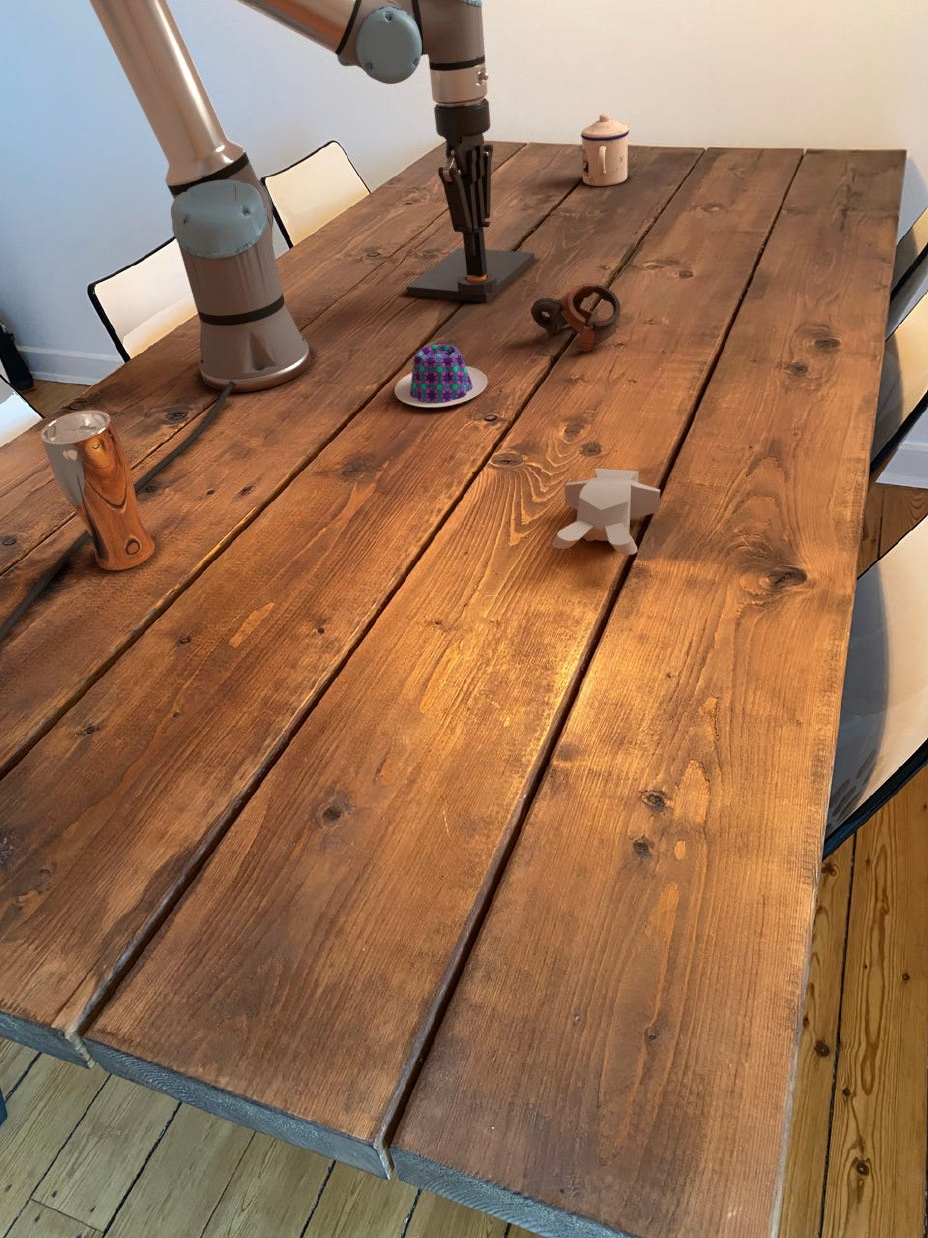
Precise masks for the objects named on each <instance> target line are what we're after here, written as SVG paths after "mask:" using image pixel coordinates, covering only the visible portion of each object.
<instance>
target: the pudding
mask: <svg viewBox="0 0 928 1238" xmlns="http://www.w3.org/2000/svg"><path fill="white" fill-rule="evenodd" d="M411 371H412V372H410V373H408V374H406V375H405V376H404V377H402V378H401V379H400V380H398V382H397V383H396V385H395V387H394V394H395V396H396V399H398V400H399V401H400V402H403V403H405V404H406V405H411V406H414V407H420V408H442V407H448V406H449V407H450V406H453V405H457V404H462V403H464V402H467V401H469V400H471V399H473V398H475V397H477V396H478V395H480V394H481V393H483V391H484V390H485V389H486V387H487V385H488V378H487V375H486V374H485V373H484V372H483V371H481V370H479V369H478V368H475V367H471V366H468V365H466V364H465V360H464V358H463V355H462V353H461V352H460V350H459V348H458V347H456V346H455V345H452V344H447V343H437V344H429V345H426V346H425V347H424V348H420V349H419V350H417V351H416V352H415V355H414V357H413V362H412V369H411Z"/></svg>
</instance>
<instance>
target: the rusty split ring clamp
mask: <svg viewBox="0 0 928 1238" xmlns="http://www.w3.org/2000/svg"><path fill="white" fill-rule="evenodd" d="M594 293H595V294H597V295H599V296H600V298H601V300H603V301H606V302H608V303H610V304H611V306H612V309H613V312H612V315H611V316H610V317H608V318H607V319H604V320H597V321H593V322H592V328H591V327H590V326H589V325H590V322H591V318H592V316H593V314H594V312H593V311H592V310H588V309H585V308H583V307H581V306H582V303H583V302H584V300H585V298H586V299H587V298H589V297H591V296H592V295H594ZM544 313H547V314H548V316H546V315H545V314H544ZM530 314H531V317H532V320H533V321H534V322H535V323H536V324H537V325H538V326H539V327H540V328H542V329H544V330H546V331H547V333H548V334H549V336H550V337H554V336H555V334H558V332H559V331H560V330H561V329H562V328H563V327H565V326H567V325H569V326H570V327H571V328H572V330H574V332H576V333H578V334H580V338H579V341H578V342H577V344H576V348H577V350H578V351H581V352H584V353H588V352H589V351H590V350H592V349H593V346H597V345H599V344H601V343H603V342H605V341H606V340H607V339H610V338H611V337H612V336H613V335H614V334H616V333H617V328H619V327H620V324H621V303H620V300H619V299H618V296H616V294H615V293H614V292H613V291H612V290H610V289H609V288H607V287H606V286H604V285H601V284H598V283H597V284H595V283H582V284H578V285H576V286H574V287H573V288H571V290H570V291H568V292H567V293H565V294H564V295H563V296H562V297H560V298H558V299H556V298H552V297H542V298H539V299H537V300H536V301H534V303H533V304H532V306H531V308H530ZM588 326H589V327H588Z"/></svg>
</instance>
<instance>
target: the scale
mask: <svg viewBox="0 0 928 1238" xmlns="http://www.w3.org/2000/svg"><path fill="white" fill-rule="evenodd" d="M485 253H486V264H487V274H486V278H487V279H486V280H483V281H479V282H468V281H467V270H466V260H465V250H464V247H457V248H456V249H455V250H453V251H452V252H451V253H449V254H448V255H447V256H446V257H444V258H443V259H441V260H440V261H438V262H437V263H436V264H434V265H433V266H432V267H430V268H429V269H428V270H427V271H425V272H424V273H422V274H421V275H420V276H418V277H417V278H416V279H415V280H413V281H412V282H411V283H409V284H408V285H407V286H406V294H407V296H412V297H413V296H414V297H423V298H435V299H445V300H457V301H465V302H477V303H485V304H486V303H488V302H490V301H491V300H492V299H493V298H495V297H496V296H497V295H498V294H499V293H500V292H501V291H502V290H504V288H506V287H507V286H509V284H510V283H512V282H513V281H514V280H515V279H516V278H517V277H518V276H519V275H520V274H521V273H523V272H524V271H525V270H526V269H527V268H529V267H530V266H531V265H532V264H533V263H534V262H535V260H536V257H535V252H529V251H515V250H501V249H486V248H485Z"/></svg>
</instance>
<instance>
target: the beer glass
mask: <svg viewBox="0 0 928 1238" xmlns="http://www.w3.org/2000/svg"><path fill="white" fill-rule="evenodd" d="M39 435H40V440H41V441H42V444H43V446H44V449H45V453H46V456H47V459H48V462H49V466H50V468H51V470H52V473H53V476H54V477H55V479H56V482H57V484H58V486H59V488H60V490H61V491H62V493H63V495H64V496H65V498H66V500H67V502H68V503H69V504H70V505H71V507H72V509H73V510H74V512H75V513H76V515H77V516H78V517H79V519H80V521H81V522H82V524H83V525H84V527H85V528H86V530H88V532H89V534H90V539H91V542H92V547H93V551H94V552H93V553H94V557H95V562H96V563H97V565H98V566H99V567H100V568H101V569H104V570H107V571H113V572H114V571H124V570H128V569H132V568H135V567H137V566H139V565H141V564H143V563H144V562H146V561H147V560H148V559H149V558H150V557H151V556H152V555H153V553H154V552H155V549H156V545H155V542H154V540H153V538H152V537H151V536H150V534H149V532H148V531H147V529H146V527H145V526H144V525H145V524H143V523H144V522H142V519H141V515H140V513H139V507H138V503H137V495H136V493H135V489H134V484H135V483H134V478H133V473H132V469H131V464H130V461H129V458H128V456H127V453H126V451H125V448H124V445H123V444H122V440H121V439H120V436H119V434H118V432H117V430H116V428H115V426H114V424H113V422H112V419H111V416H110V415H109V414H108V413H106V412H104V411H101V410H96V409H95V410H93V409H92V410H89V409H88V410H81V411H75V412H71V413H67V414H65V415H62V416H60V417H57V418H55V419H54V420H52V421H50V422H48V423H47V424H46V425H45V426H44V427H43V428H42V430H41V431H40V434H39Z"/></svg>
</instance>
